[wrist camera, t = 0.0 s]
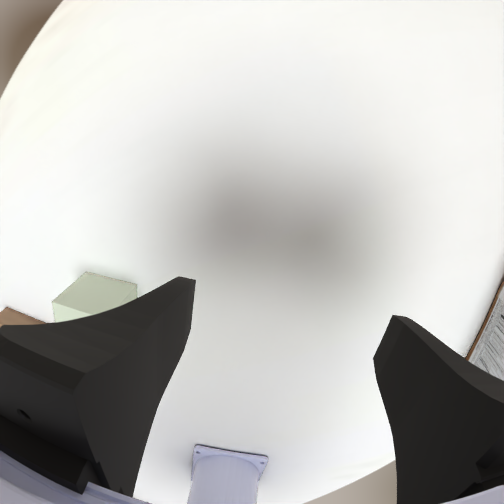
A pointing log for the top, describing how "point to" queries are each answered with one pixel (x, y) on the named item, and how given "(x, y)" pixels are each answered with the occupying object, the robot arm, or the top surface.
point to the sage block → (92, 297)
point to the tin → (491, 340)
